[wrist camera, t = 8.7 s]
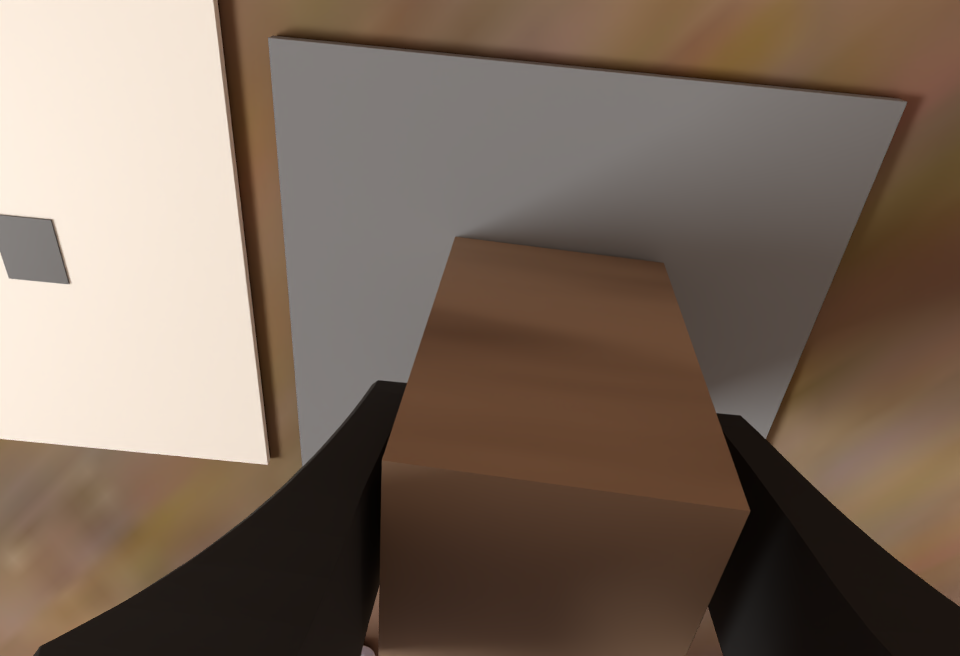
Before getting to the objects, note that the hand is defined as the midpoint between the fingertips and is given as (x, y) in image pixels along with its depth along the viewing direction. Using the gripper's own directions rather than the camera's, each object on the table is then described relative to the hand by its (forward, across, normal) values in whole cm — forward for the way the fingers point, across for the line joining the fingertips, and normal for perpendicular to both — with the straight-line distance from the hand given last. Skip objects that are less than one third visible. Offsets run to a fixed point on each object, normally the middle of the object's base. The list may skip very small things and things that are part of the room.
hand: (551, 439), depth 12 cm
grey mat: (+4, 0, 0) cm, 4 cm away
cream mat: (+4, +13, -1) cm, 14 cm away
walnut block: (+3, 0, 0) cm, 3 cm away
